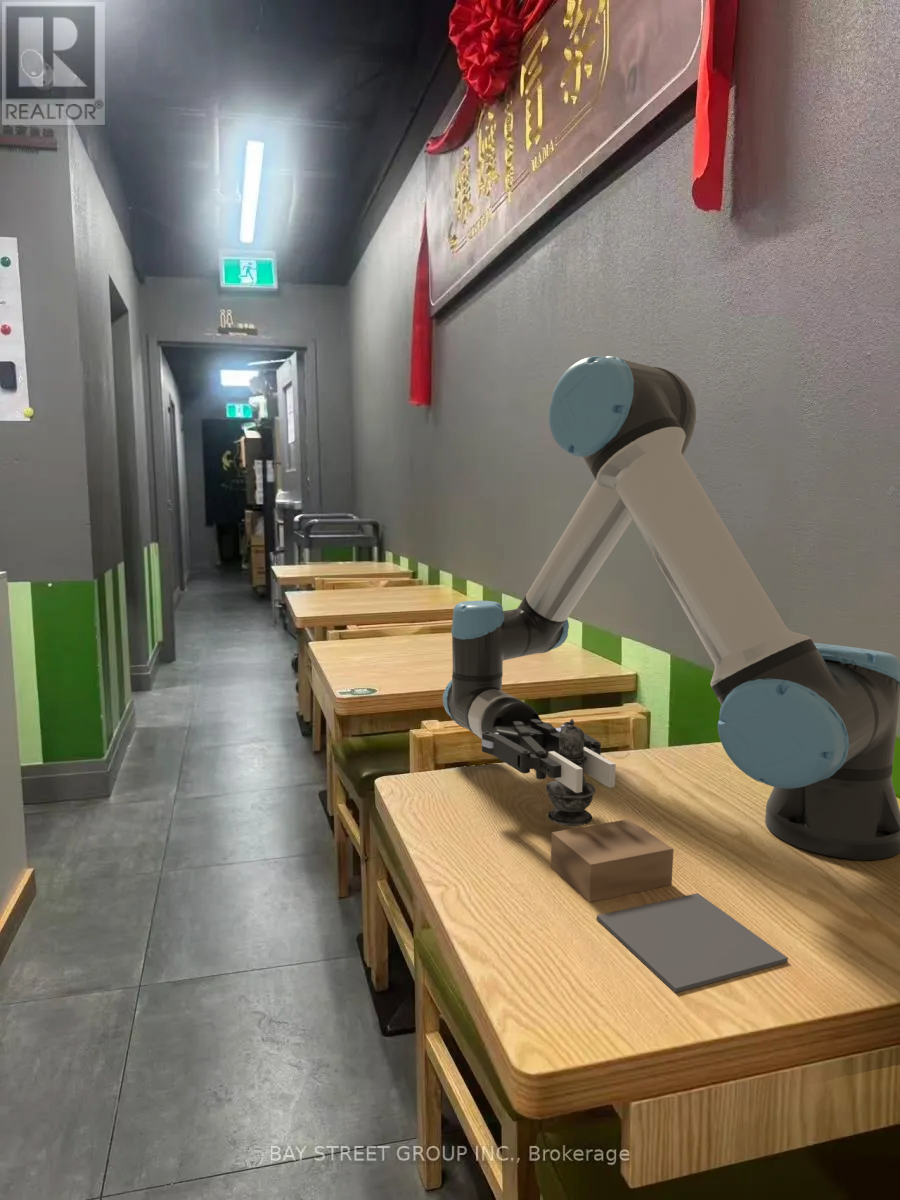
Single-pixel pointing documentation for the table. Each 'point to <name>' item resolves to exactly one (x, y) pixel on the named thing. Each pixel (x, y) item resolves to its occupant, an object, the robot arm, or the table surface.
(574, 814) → the salt shaker
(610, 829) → the ledge block
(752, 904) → the table surface
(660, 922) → the mat
